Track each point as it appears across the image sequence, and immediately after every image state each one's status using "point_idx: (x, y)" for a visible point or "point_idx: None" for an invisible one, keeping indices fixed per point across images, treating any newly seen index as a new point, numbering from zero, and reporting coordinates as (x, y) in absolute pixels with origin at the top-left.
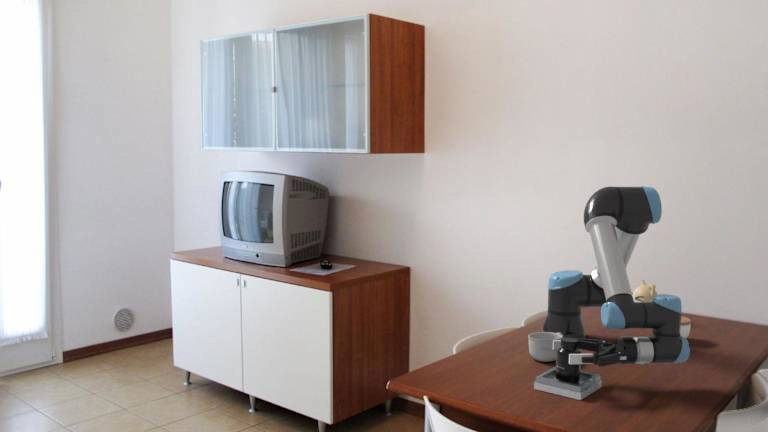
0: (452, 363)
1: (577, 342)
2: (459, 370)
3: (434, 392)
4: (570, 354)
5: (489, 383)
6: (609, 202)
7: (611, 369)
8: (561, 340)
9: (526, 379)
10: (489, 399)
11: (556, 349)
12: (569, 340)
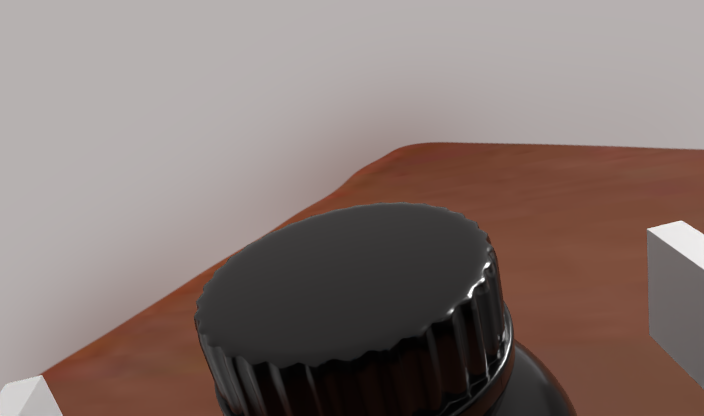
0: (692, 168)
1: (246, 379)
2: (600, 196)
3: (325, 202)
4: (15, 388)
5: None
6: None
7: None
8: (327, 216)
9: (588, 411)
10: None
11: (672, 353)
12: (298, 268)
